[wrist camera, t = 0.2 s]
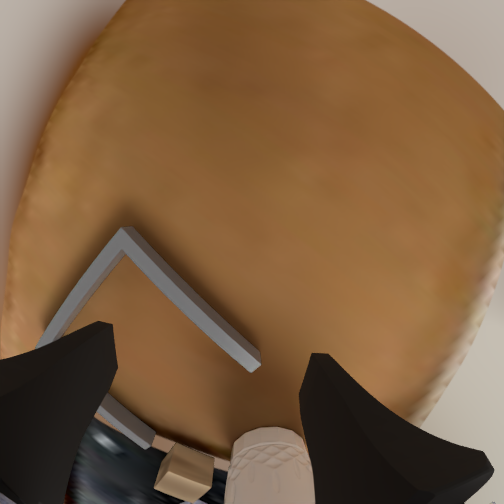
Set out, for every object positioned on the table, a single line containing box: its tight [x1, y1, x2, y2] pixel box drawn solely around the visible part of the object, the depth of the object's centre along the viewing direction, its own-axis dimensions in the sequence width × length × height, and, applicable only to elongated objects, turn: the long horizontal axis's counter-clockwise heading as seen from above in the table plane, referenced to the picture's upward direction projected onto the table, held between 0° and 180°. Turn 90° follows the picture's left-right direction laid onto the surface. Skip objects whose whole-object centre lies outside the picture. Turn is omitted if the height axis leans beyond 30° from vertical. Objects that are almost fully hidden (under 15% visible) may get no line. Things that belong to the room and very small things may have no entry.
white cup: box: [224, 427, 315, 504], centre depth 17 cm, size 8×8×10 cm
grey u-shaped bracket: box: [35, 226, 262, 449], centre depth 19 cm, size 14×13×2 cm
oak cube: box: [154, 443, 214, 503], centre depth 20 cm, size 4×4×4 cm
